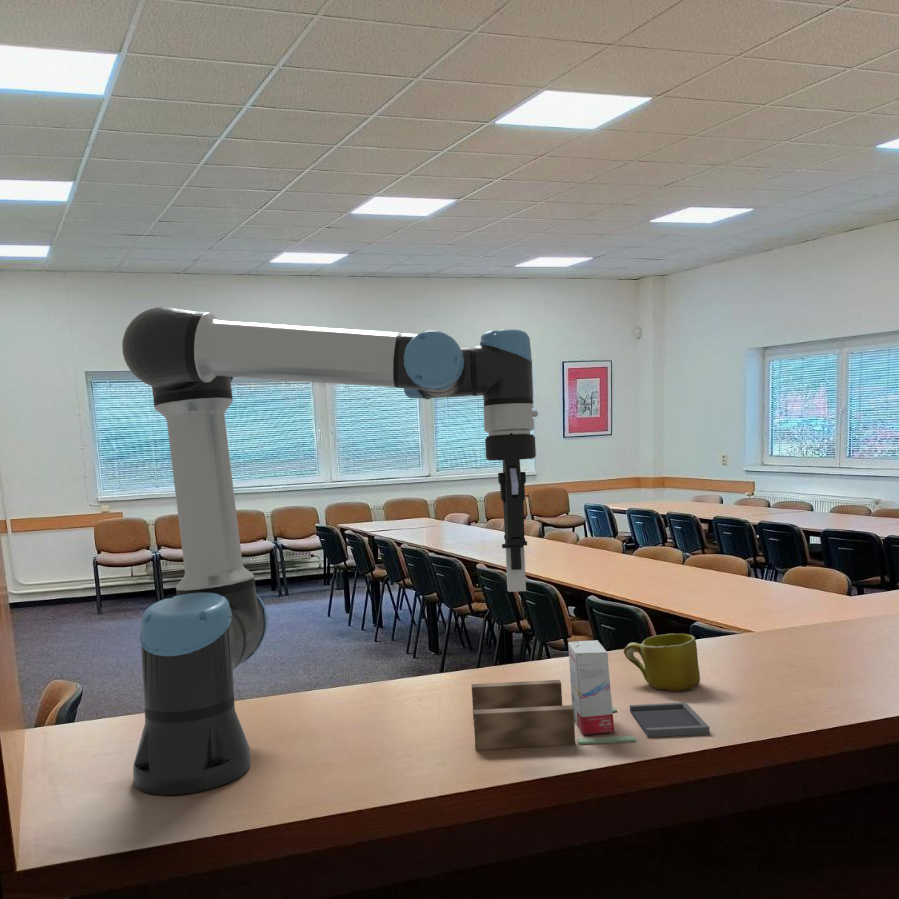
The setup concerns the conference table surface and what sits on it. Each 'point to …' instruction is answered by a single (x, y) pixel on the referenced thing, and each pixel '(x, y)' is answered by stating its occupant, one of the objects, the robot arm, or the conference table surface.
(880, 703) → the conference table surface
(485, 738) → the tunnel walls
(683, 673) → the mug
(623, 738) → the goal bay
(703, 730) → the grey flat tray
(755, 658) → the conference table surface
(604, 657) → the ink box
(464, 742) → the conference table surface
